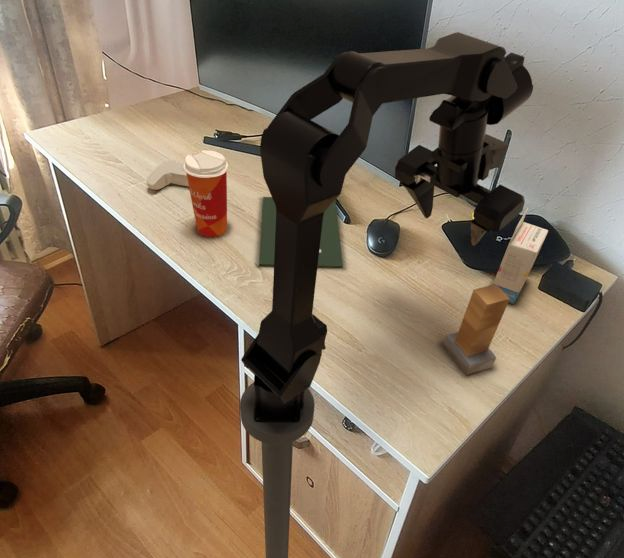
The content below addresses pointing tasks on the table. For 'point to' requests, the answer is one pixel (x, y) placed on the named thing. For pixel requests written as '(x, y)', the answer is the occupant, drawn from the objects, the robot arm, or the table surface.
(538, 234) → the ink box
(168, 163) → the game controller
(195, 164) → the coffee cup
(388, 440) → the table surface
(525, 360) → the table surface
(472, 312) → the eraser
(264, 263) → the chalkboard
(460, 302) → the table surface
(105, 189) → the table surface
